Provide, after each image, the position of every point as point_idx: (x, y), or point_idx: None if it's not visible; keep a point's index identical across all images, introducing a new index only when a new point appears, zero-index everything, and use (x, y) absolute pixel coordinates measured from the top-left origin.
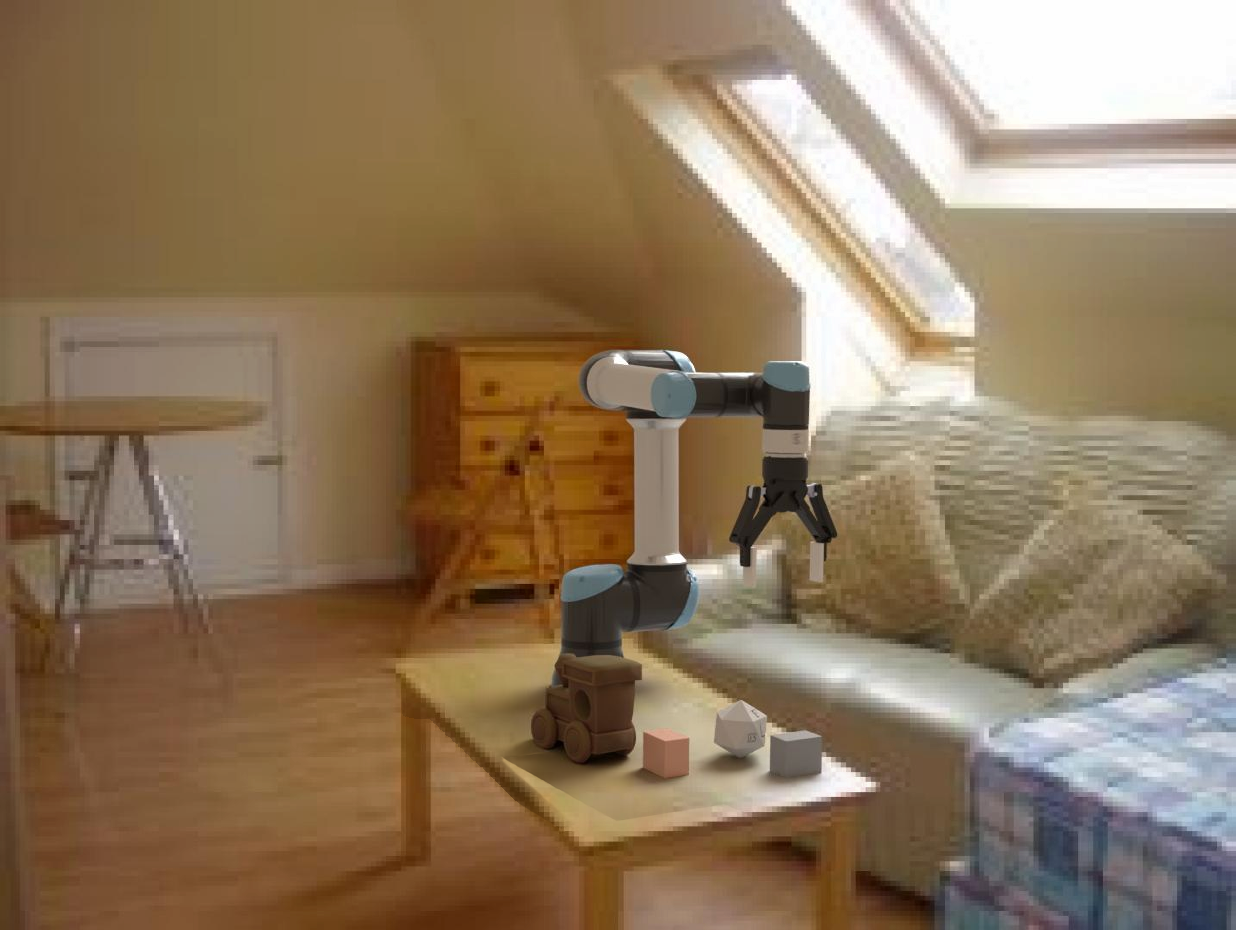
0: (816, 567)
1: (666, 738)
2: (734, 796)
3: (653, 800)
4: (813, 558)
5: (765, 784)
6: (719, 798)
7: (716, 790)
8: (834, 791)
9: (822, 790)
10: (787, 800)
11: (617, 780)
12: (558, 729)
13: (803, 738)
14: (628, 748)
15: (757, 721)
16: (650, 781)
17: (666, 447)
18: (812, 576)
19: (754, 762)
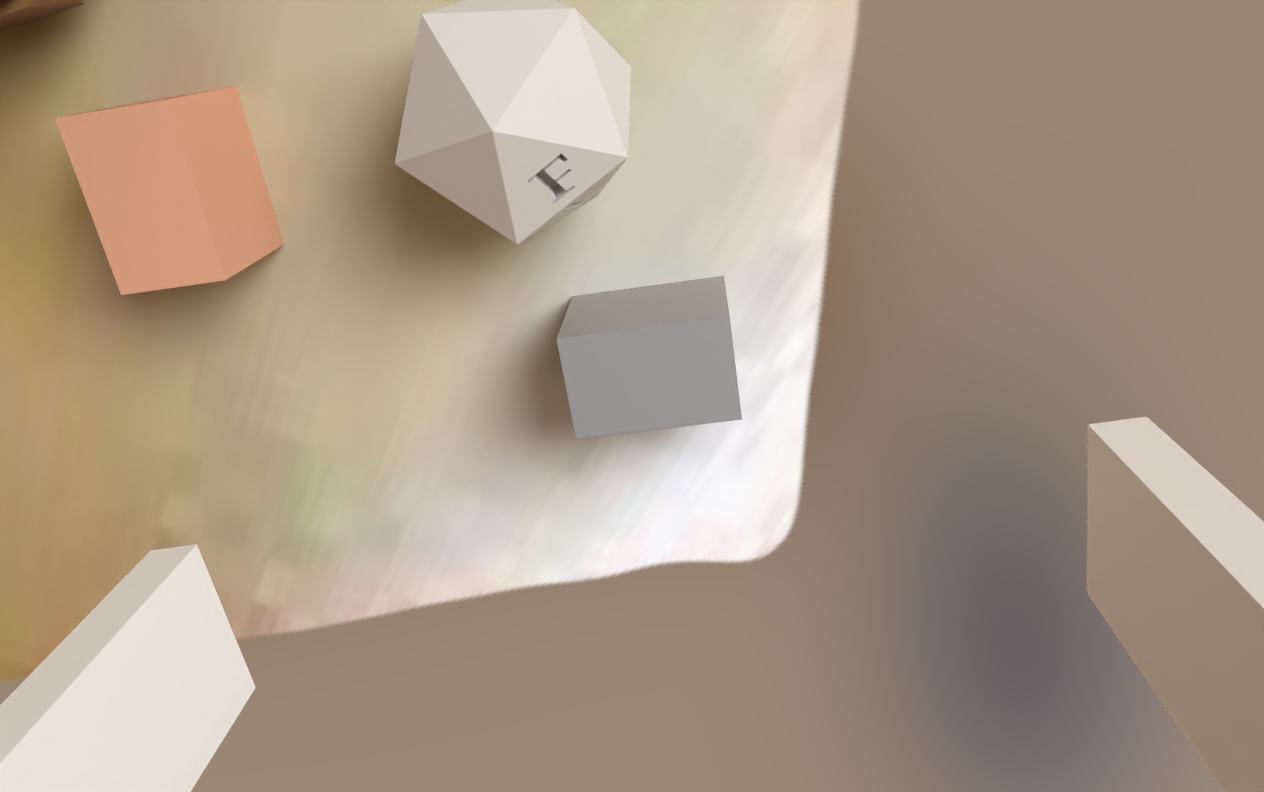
0: (1166, 650)
1: (133, 257)
2: (357, 505)
3: (112, 467)
4: (1239, 667)
5: (494, 428)
6: (308, 508)
7: (322, 437)
8: (664, 552)
9: (635, 534)
10: (492, 582)
11: (27, 235)
12: None
13: (656, 425)
14: (60, 10)
15: (550, 219)
16: None
17: None
18: (1109, 505)
19: None
